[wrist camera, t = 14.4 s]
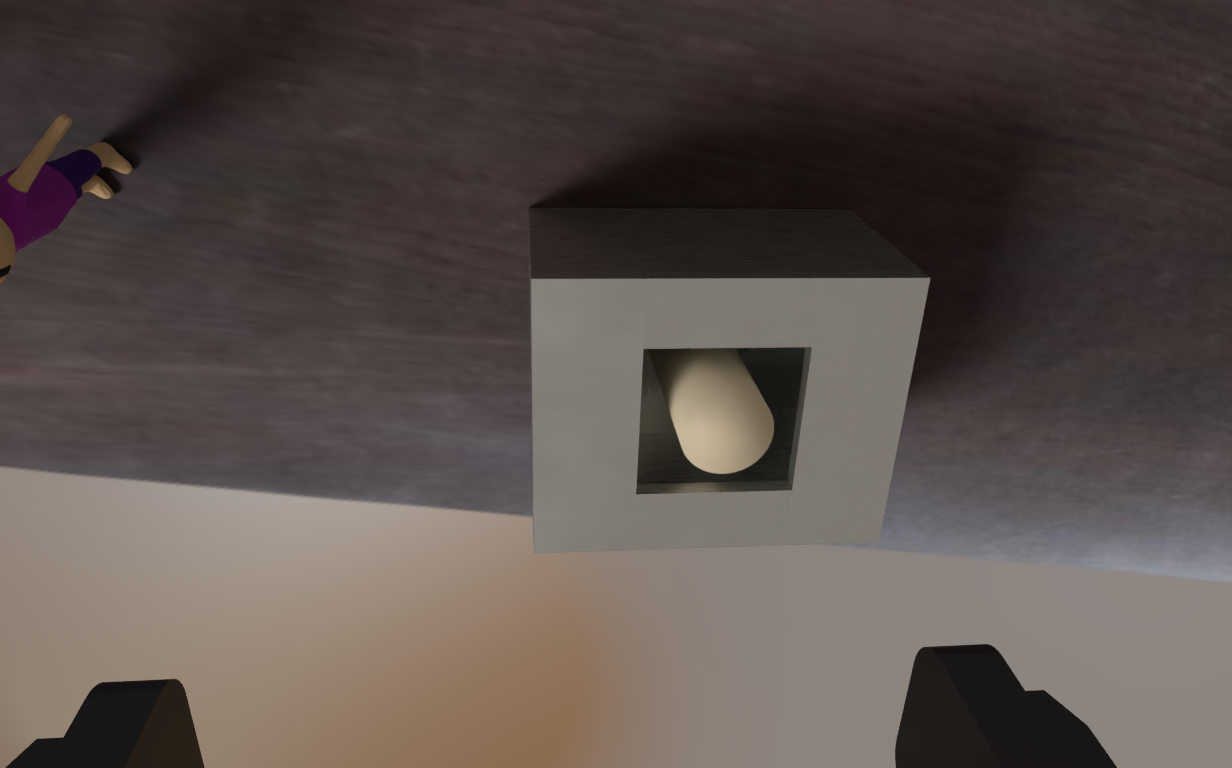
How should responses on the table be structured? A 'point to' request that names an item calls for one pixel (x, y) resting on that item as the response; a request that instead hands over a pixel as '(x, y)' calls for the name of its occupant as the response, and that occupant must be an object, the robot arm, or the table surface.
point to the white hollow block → (715, 318)
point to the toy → (49, 189)
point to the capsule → (714, 407)
